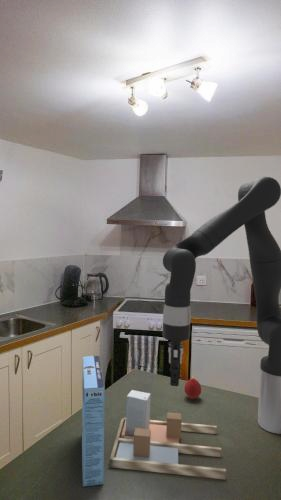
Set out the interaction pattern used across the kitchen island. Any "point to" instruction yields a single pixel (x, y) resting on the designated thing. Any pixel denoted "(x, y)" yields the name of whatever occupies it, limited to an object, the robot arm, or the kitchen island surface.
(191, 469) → the lane rails
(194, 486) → the kitchen island surface
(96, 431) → the light blue flat box
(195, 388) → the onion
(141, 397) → the skincare box
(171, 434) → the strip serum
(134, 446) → the strip empty
